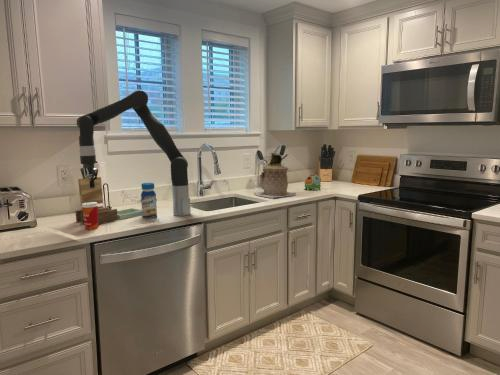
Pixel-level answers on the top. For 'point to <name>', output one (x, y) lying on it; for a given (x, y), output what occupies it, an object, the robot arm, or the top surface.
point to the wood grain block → (90, 191)
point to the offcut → (102, 209)
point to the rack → (99, 216)
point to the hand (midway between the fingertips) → (90, 187)
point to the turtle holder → (312, 182)
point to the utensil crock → (274, 179)
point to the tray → (129, 213)
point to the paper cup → (90, 215)
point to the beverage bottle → (148, 201)
